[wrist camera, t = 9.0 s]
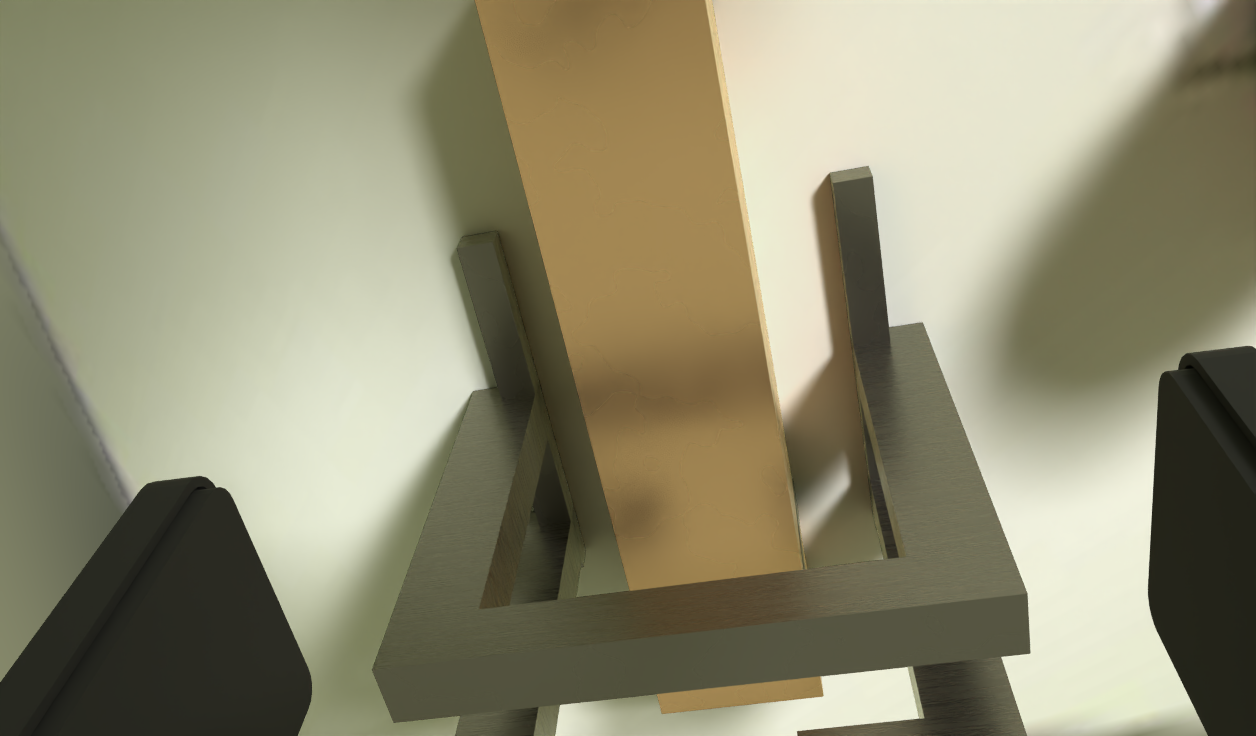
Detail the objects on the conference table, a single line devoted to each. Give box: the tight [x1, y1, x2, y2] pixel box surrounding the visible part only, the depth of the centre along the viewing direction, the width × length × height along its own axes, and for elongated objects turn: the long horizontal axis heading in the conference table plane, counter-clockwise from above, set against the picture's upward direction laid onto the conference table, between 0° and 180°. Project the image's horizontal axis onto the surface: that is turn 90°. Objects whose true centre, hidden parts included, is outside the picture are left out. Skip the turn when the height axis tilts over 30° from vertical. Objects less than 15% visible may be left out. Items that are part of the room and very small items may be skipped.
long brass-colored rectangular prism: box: [475, 0, 824, 714], centre depth 29 cm, size 20×4×6 cm, turn 12°
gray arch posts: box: [372, 166, 1030, 736], centre depth 27 cm, size 11×13×12 cm
